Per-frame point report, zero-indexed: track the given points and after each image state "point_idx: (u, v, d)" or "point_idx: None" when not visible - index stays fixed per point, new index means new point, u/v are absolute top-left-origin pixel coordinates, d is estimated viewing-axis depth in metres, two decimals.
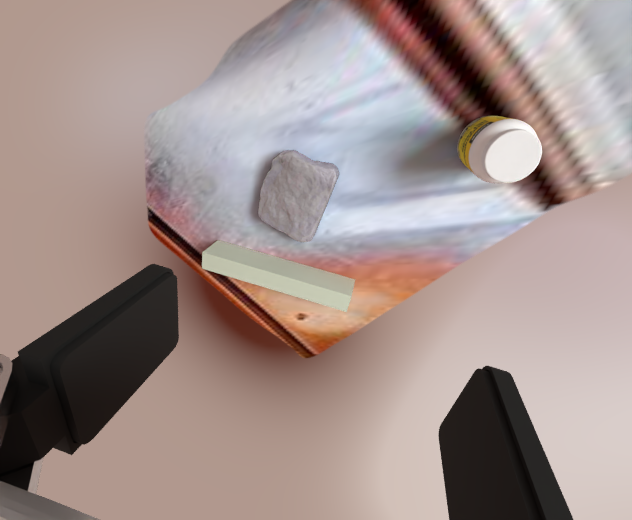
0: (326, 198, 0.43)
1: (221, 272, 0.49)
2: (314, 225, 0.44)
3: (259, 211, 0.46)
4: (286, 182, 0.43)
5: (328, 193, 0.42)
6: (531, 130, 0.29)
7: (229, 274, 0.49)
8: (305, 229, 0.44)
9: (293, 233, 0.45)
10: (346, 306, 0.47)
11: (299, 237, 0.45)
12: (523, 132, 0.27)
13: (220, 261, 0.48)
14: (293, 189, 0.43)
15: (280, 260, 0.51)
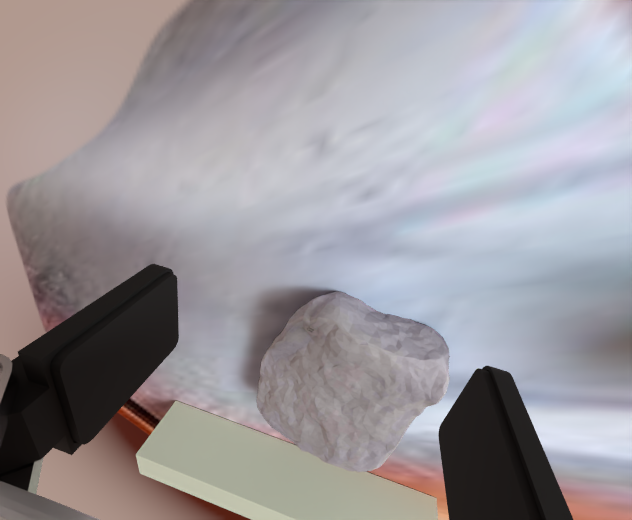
0: (417, 412, 0.18)
1: (175, 486, 0.25)
2: (382, 458, 0.19)
3: (259, 401, 0.22)
4: (320, 373, 0.18)
5: (424, 406, 0.17)
6: None
7: (190, 491, 0.25)
8: (362, 462, 0.20)
9: (335, 464, 0.20)
10: None
11: (347, 468, 0.21)
12: None
13: (172, 473, 0.24)
14: (336, 389, 0.18)
15: (290, 451, 0.27)
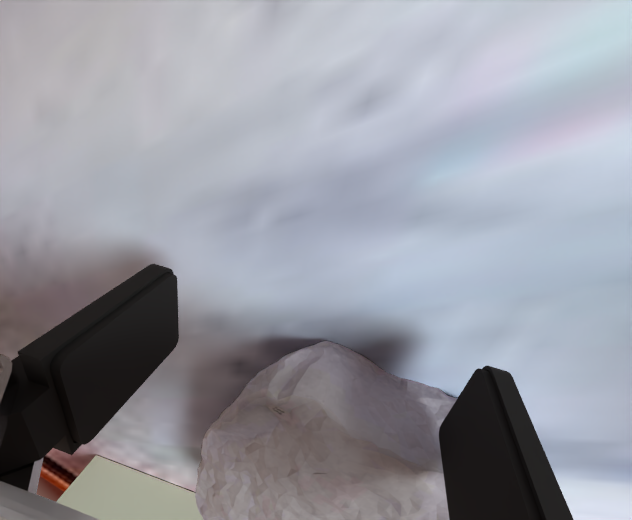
0: None
1: None
2: None
3: (199, 495, 0.14)
4: (292, 479, 0.11)
5: None
6: None
7: None
8: None
9: None
10: None
11: None
12: None
13: None
14: (318, 505, 0.11)
15: None
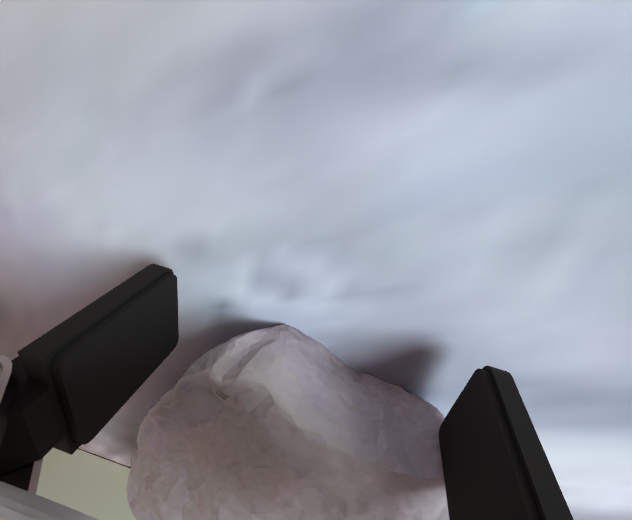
0: None
1: None
2: None
3: (130, 488, 0.13)
4: (232, 472, 0.10)
5: None
6: None
7: None
8: None
9: None
10: None
11: None
12: None
13: None
14: (257, 502, 0.10)
15: None
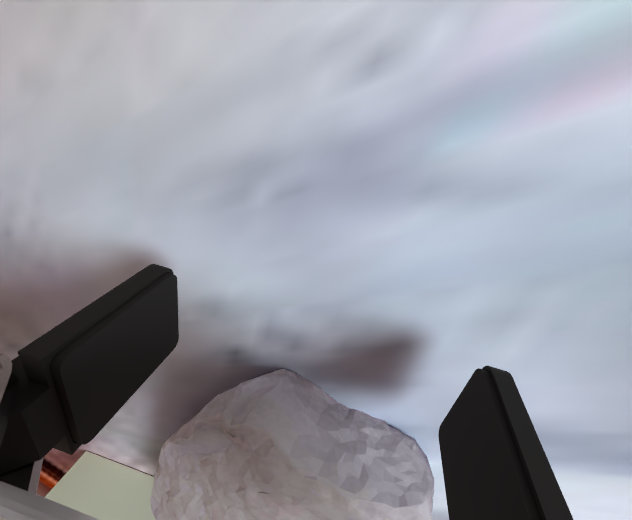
0: None
1: None
2: None
3: (153, 499, 0.15)
4: (240, 495, 0.12)
5: None
6: None
7: None
8: None
9: None
10: None
11: None
12: None
13: None
14: (262, 519, 0.12)
15: None
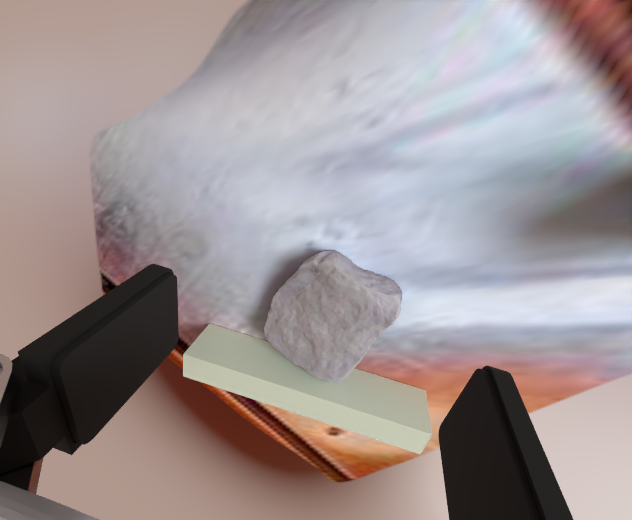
0: (378, 334, 0.27)
1: (214, 384, 0.31)
2: (350, 368, 0.28)
3: (266, 327, 0.30)
4: (318, 302, 0.27)
5: (383, 328, 0.27)
6: None
7: (226, 387, 0.31)
8: (336, 371, 0.28)
9: (317, 373, 0.29)
10: (421, 447, 0.29)
11: (325, 378, 0.29)
12: None
13: (213, 369, 0.30)
14: (327, 314, 0.27)
15: None
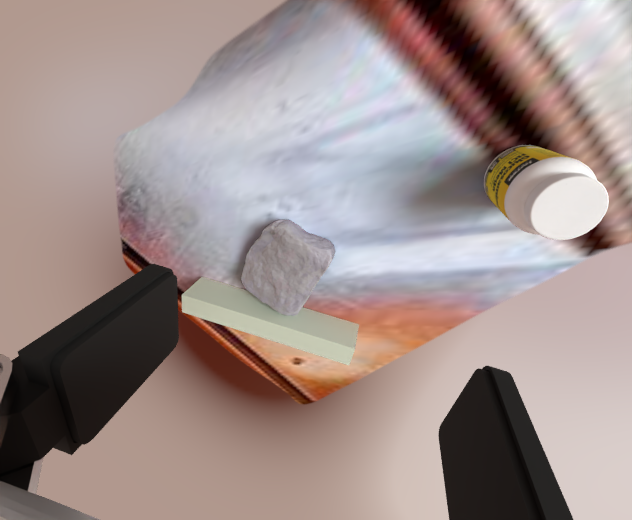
0: (318, 278, 0.38)
1: (204, 317, 0.43)
2: (301, 303, 0.40)
3: (242, 277, 0.42)
4: (275, 255, 0.38)
5: (321, 274, 0.38)
6: (590, 172, 0.23)
7: (213, 319, 0.43)
8: (291, 306, 0.40)
9: (278, 308, 0.41)
10: (349, 359, 0.40)
11: (284, 312, 0.41)
12: (585, 179, 0.21)
13: (203, 305, 0.42)
14: (282, 264, 0.38)
15: None
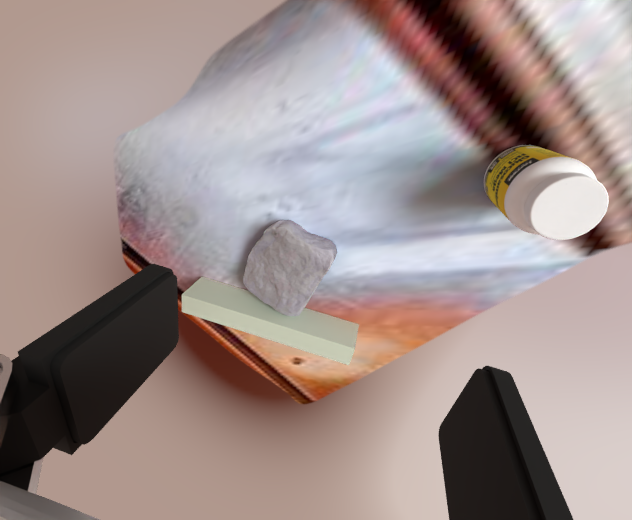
0: (320, 278, 0.38)
1: (204, 317, 0.43)
2: (303, 304, 0.40)
3: (244, 278, 0.42)
4: (277, 256, 0.38)
5: (323, 274, 0.38)
6: (590, 172, 0.23)
7: (213, 319, 0.43)
8: (293, 306, 0.40)
9: (280, 308, 0.40)
10: (348, 359, 0.40)
11: (286, 312, 0.41)
12: (585, 179, 0.21)
13: (203, 305, 0.42)
14: (284, 265, 0.38)
15: None
